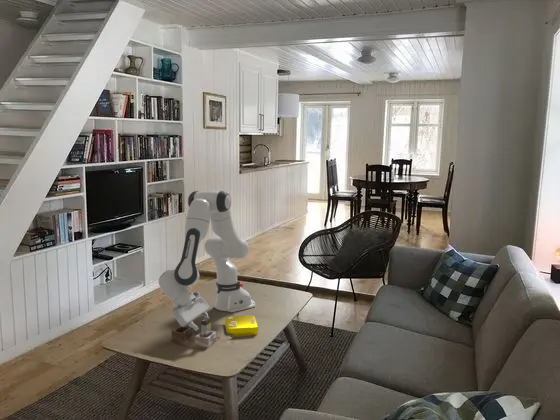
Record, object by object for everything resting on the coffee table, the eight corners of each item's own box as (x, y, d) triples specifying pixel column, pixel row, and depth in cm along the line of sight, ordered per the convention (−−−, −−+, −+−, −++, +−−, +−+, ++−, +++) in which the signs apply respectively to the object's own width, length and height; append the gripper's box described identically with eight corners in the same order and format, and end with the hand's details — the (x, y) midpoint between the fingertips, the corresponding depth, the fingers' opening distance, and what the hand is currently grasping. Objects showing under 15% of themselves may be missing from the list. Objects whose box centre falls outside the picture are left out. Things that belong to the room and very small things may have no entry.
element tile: (258, 335, 224) (258, 326, 223) (227, 337, 221) (226, 328, 220) (254, 322, 238) (254, 314, 238) (224, 325, 236) (224, 316, 235)
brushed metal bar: (206, 340, 215) (205, 317, 213) (211, 341, 214) (210, 318, 212) (201, 343, 211) (201, 320, 209) (206, 344, 210) (206, 321, 208)
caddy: (184, 333, 225) (184, 322, 224) (220, 340, 218) (220, 329, 217) (166, 345, 212) (166, 334, 211) (204, 353, 205) (204, 341, 204)
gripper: (175, 305, 203) (195, 330, 201) (200, 290, 221) (218, 313, 219) (166, 313, 205) (186, 338, 203) (192, 298, 224) (210, 321, 222)
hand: (203, 325), depth 211 cm, fingers open, 8 cm apart
